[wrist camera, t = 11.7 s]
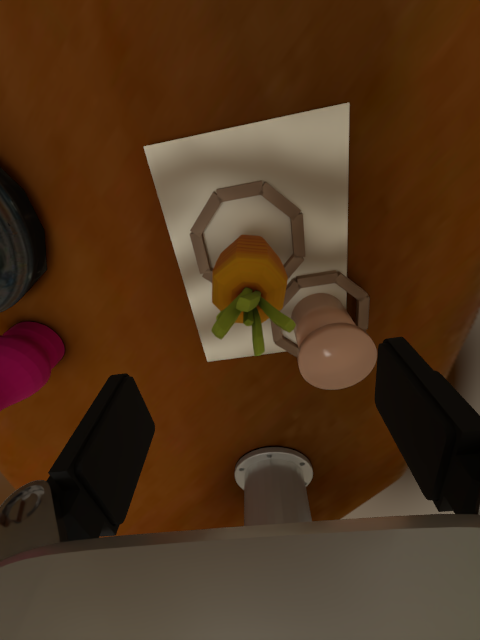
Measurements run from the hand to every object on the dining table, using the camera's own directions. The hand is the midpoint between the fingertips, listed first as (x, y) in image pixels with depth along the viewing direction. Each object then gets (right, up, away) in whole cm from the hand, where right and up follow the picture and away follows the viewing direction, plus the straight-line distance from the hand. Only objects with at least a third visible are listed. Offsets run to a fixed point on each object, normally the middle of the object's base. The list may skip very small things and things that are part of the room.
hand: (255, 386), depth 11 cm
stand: (+3, +9, +18) cm, 20 cm away
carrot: (0, +10, +16) cm, 18 cm away
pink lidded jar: (+8, +3, +19) cm, 21 cm away
